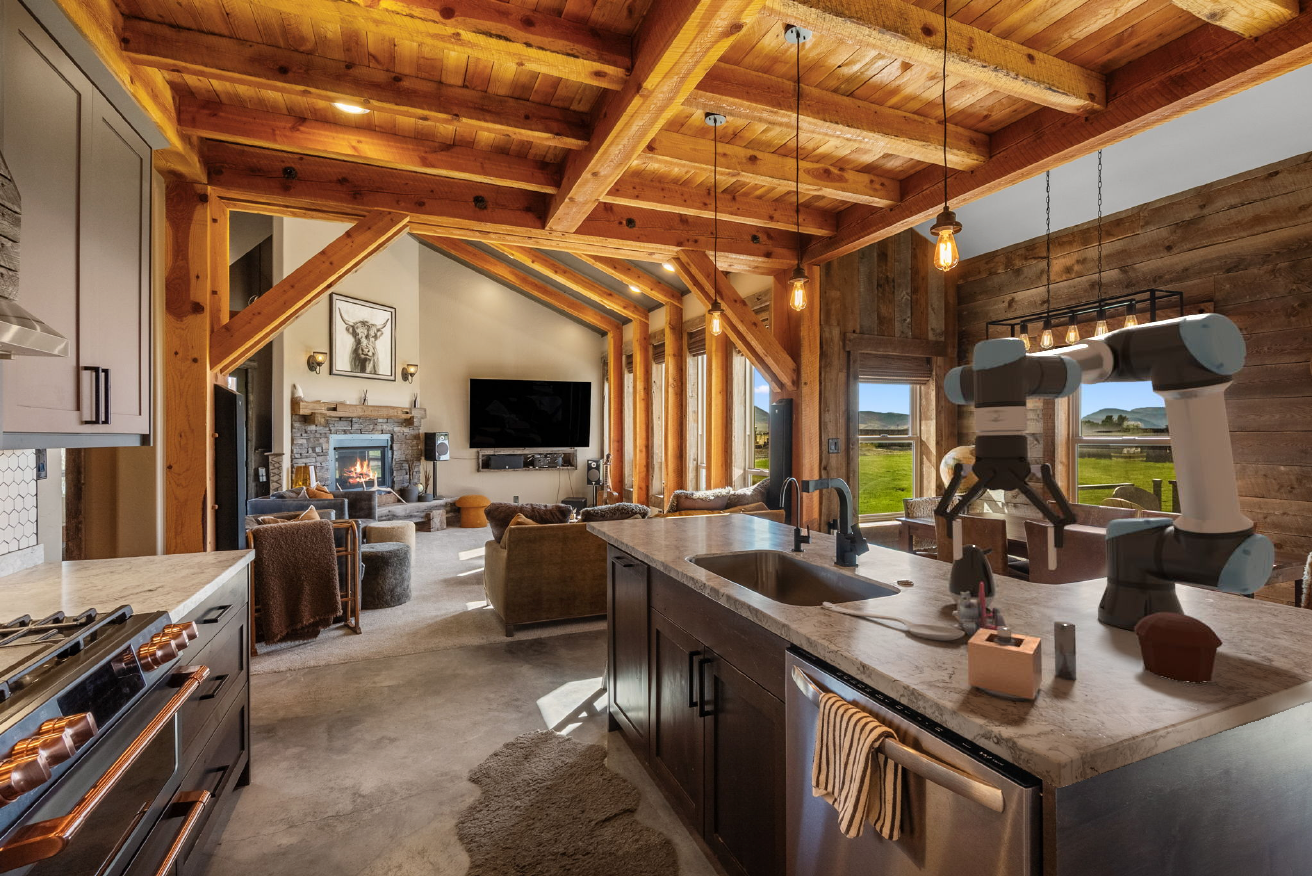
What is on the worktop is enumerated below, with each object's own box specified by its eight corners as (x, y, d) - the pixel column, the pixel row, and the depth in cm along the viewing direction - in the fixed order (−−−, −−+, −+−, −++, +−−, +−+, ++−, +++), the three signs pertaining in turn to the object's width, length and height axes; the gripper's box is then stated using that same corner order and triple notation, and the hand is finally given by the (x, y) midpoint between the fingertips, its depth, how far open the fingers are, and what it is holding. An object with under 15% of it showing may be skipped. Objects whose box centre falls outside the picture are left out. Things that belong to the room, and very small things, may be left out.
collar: (981, 667, 104) (980, 627, 104) (1041, 680, 98) (1041, 638, 98) (968, 684, 97) (967, 641, 97) (1033, 699, 91) (1032, 653, 91)
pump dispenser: (1006, 612, 140) (1004, 547, 140) (961, 612, 140) (960, 548, 140) (982, 600, 150) (981, 540, 150) (941, 601, 150) (940, 541, 150)
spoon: (974, 642, 120) (973, 629, 120) (952, 649, 116) (952, 635, 116) (834, 610, 149) (834, 599, 149) (813, 615, 145) (813, 604, 145)
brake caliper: (1024, 634, 117) (982, 583, 119) (975, 663, 120) (934, 612, 123) (1014, 618, 127) (975, 571, 130) (969, 645, 130) (932, 598, 133)
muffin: (1118, 663, 107) (1116, 608, 107) (1165, 657, 110) (1164, 603, 110) (1190, 690, 96) (1189, 628, 96) (1241, 683, 98) (1240, 622, 98)
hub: (1001, 675, 103) (1000, 617, 103) (1051, 695, 95) (1050, 632, 95) (961, 683, 100) (960, 623, 100) (1009, 705, 91) (1008, 640, 92)
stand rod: (1063, 671, 104) (1062, 620, 104) (1080, 678, 101) (1079, 625, 101) (1051, 674, 103) (1049, 622, 103) (1068, 681, 100) (1067, 627, 100)
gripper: (914, 435, 103) (916, 558, 103) (1092, 432, 87) (1095, 577, 86) (927, 435, 108) (929, 551, 108) (1096, 432, 92) (1099, 568, 92)
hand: (1003, 563), depth 97 cm, fingers open, 13 cm apart
